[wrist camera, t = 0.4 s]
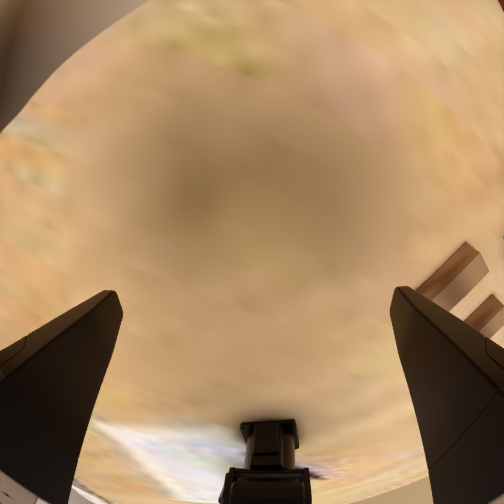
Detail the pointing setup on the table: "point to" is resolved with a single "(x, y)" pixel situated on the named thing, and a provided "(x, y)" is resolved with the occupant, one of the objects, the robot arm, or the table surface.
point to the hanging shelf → (501, 3)
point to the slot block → (464, 289)
